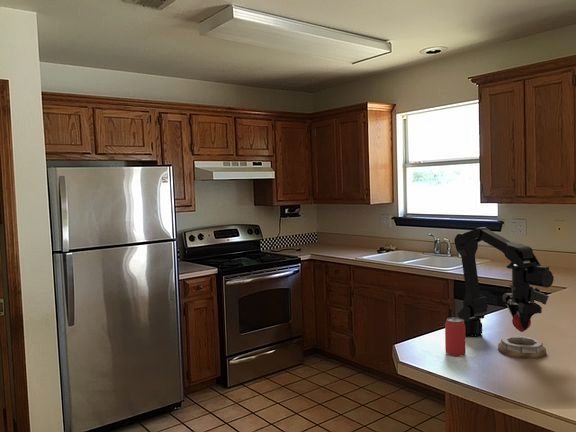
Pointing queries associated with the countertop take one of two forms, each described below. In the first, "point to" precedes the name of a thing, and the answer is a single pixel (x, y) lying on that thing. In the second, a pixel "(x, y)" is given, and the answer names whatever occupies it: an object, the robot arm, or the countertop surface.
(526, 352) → the ring board
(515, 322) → the onion
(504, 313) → the countertop surface
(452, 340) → the beer can
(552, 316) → the countertop surface
